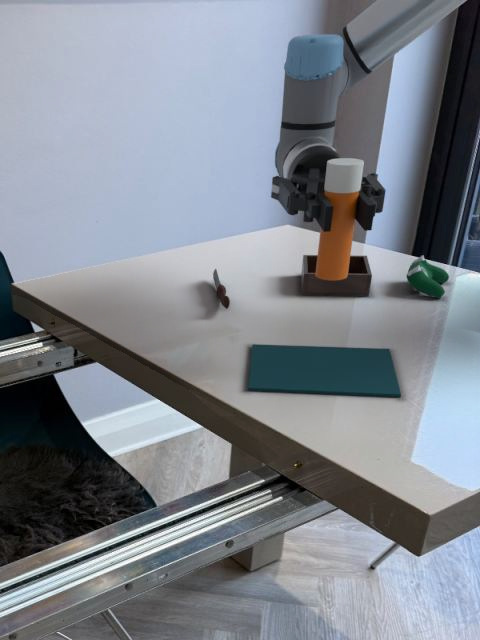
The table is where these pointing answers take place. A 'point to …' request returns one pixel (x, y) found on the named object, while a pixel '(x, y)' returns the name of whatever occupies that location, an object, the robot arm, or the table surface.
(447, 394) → the table surface
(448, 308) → the table surface
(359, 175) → the glue stick
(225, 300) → the knife
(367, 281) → the box
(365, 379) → the mat
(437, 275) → the gaming controller
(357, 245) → the table surface
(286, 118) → the robot arm
